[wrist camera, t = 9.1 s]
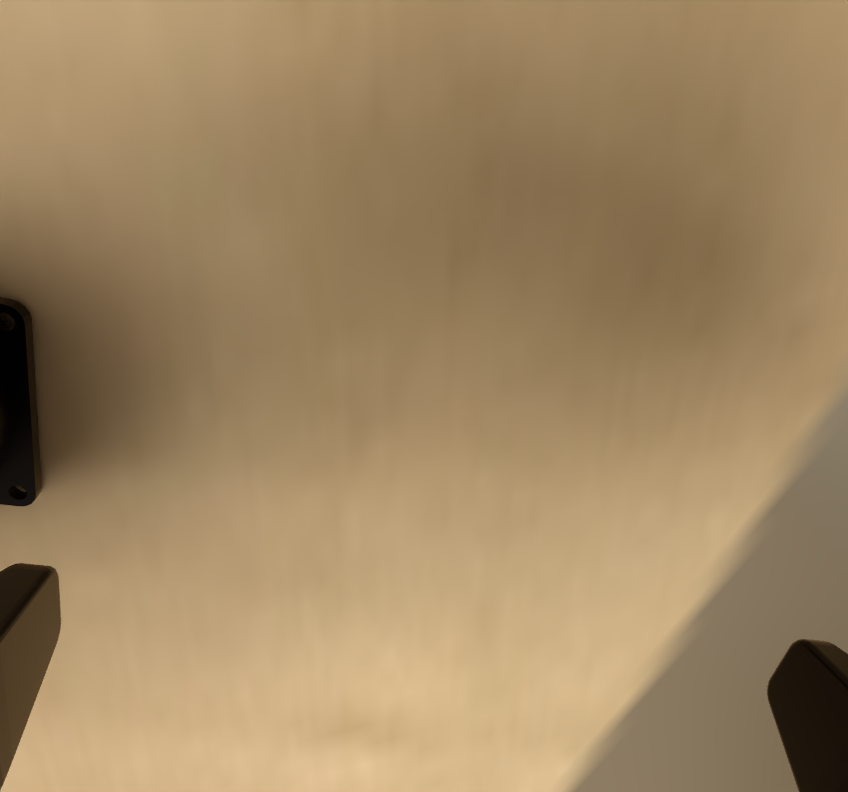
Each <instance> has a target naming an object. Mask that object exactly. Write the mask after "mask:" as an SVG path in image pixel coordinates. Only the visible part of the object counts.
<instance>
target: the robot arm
mask: <svg viewBox="0 0 848 792" xmlns="http://www.w3.org/2000/svg"><path fill="white" fill-rule="evenodd" d="M2 313H6V314H8V315H10V316H11V317H12V318H13V319H14V322H15V325H13V326H12V325H9V324H7V323H6V322H5V321H4V320H3V319H2V316H1V314H2ZM16 486H20V487H23V488H24V489H25V490H26V492H23V491H20V490H19V489H17V488H16ZM41 488H42V485H41V468H40V451H39V434H38V417H37V400H36V383H35V366H34V349H33V332H32V319H31V315H30V312H29V311H28V310H27V308H26V307H25V306H24V305H22V304H21V303H20V302H18V301H15V300H12V299H7V298H1V297H0V504H3V505H12V506H27V505H29V504H32V502H33V501H34V500H35V499H36V498H37V496H38V495H39V493H40V492H41ZM60 627H61V611H60V593H59V577H58V573H57V571H56V569H54V568H53V567H51V566H44V565H33V564H23V563H19V564H14V565H12V566H9V567H7V568H6V569H4V570H3V571H1V572H0V790H1V788H2V785H3V783H4V781H5V778H6V776H7V773H8V771H9V768H10V766H11V763H12V761H13V758H14V755H15V753H16V750H17V747H18V745H19V742H20V739H21V737H22V734H23V732H24V729H25V726H26V724H27V721H28V718H29V716H30V713H31V710H32V708H33V705H34V702H35V700H36V697H37V694H38V692H39V689H40V686H41V684H42V681H43V679H44V676H45V673H46V671H47V668H48V665H49V663H50V660H51V657H52V655H53V652H54V649H55V647H56V644H57V641H58V637H59V633H60ZM767 687H768V688H767V695H768V701H769V704H770V707H771V710H772V713H773V716H774V719H775V722H776V725H777V728H778V731H779V734H780V737H781V740H782V743H783V746H784V748H785V752H786V755H787V758H788V761H789V763H790V766H791V769H792V772H793V775H794V778H795V781H796V784H797V787H798V790H799V792H848V654H847V653H845V652H844V651H842V650H841V649H840V648H838V647H837V646H835V645H834V644H832V643H829V642H826V641H819V640H807V639H800V640H797V641H795V642H794V643H792V645H791V646H790V647H789V649H788V650H787V652H786V654H785V655H784V657H783V658H782V660H781V662H780V663H779V665H778V667H777V668H776V670H775V672H774V673H773V675H772V676H771V678H770V680H769V682H768V686H767Z"/></svg>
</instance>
